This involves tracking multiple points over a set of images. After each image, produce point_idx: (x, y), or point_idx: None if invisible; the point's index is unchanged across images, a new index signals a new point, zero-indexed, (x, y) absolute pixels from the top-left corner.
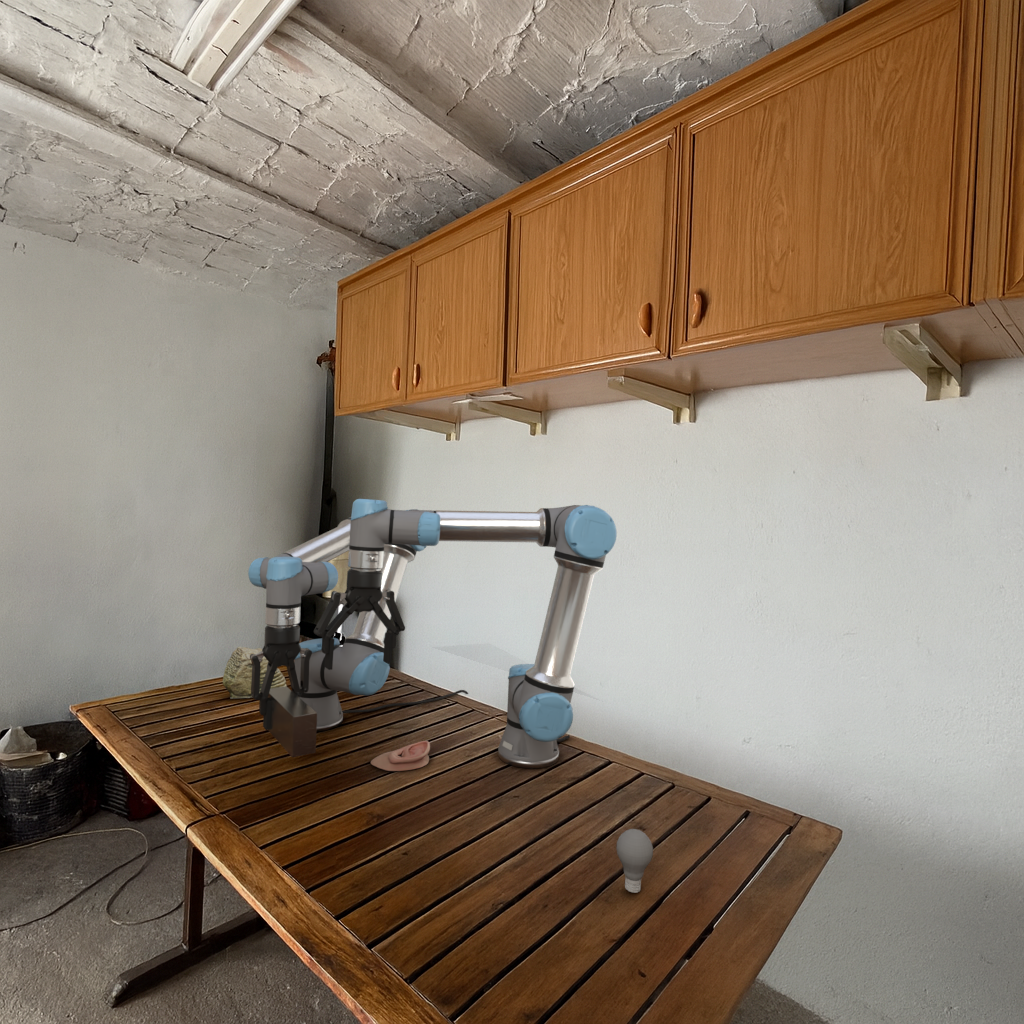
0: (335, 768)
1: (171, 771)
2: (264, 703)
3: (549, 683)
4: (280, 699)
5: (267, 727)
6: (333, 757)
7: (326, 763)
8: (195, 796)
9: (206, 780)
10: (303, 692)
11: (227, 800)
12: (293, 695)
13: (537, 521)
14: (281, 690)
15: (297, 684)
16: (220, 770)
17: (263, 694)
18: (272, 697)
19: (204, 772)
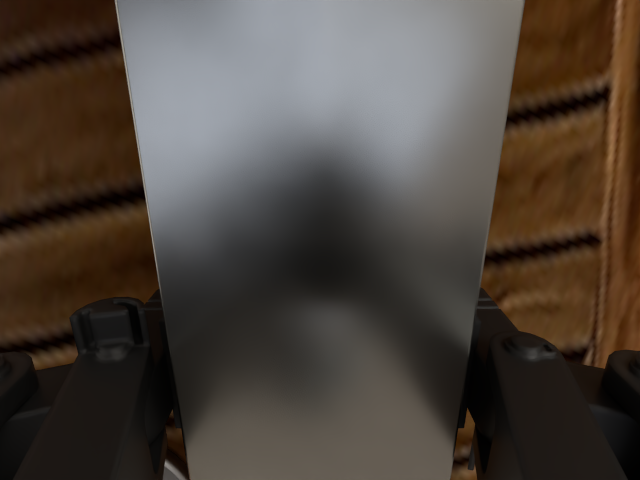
0: (113, 97)
1: (601, 348)
2: (486, 334)
3: None
4: (441, 98)
5: None
6: (101, 203)
7: (137, 163)
8: (628, 124)
9: (546, 233)
10: (45, 369)
11: (558, 23)
12: (195, 207)
13: None
14: (291, 465)
15: (49, 452)
16: (481, 287)
17: (574, 388)
18: (474, 292)
19: (527, 296)
